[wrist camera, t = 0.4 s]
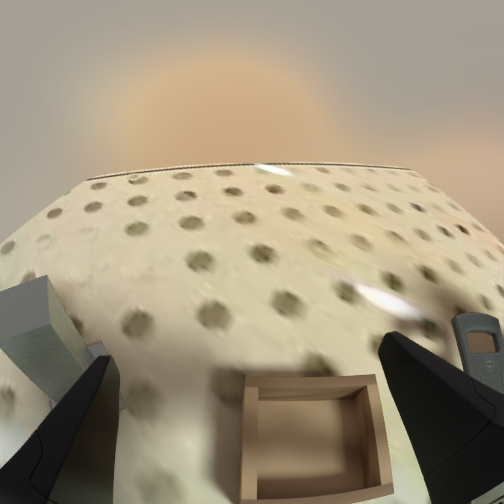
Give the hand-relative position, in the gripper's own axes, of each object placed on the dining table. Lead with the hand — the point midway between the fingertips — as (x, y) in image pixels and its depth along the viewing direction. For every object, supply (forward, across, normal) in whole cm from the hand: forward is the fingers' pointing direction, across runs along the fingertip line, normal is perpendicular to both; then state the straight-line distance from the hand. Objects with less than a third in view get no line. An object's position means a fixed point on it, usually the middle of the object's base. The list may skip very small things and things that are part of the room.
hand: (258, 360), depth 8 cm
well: (+3, -6, +16) cm, 18 cm away
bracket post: (+10, +14, +15) cm, 23 cm away
